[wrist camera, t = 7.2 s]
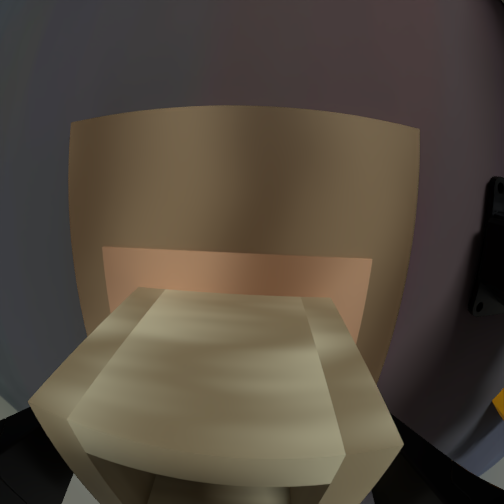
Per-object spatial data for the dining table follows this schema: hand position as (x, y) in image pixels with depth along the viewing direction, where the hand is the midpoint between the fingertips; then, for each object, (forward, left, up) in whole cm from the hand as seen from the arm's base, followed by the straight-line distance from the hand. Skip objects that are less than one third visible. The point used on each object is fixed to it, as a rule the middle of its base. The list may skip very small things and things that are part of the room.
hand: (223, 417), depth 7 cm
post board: (0, 0, -4) cm, 4 cm away
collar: (0, 0, -2) cm, 2 cm away
